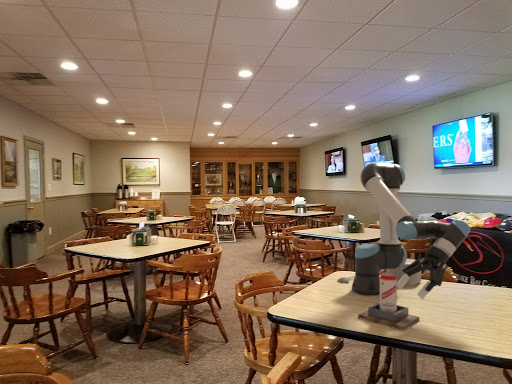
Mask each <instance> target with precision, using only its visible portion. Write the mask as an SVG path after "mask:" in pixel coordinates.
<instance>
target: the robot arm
mask: <svg viewBox="0 0 512 384" xmlns="http://www.w3.org/2000/svg"><path fill="white" fill-rule="evenodd" d="M405 181H406V173H405V171H404V169H403V168H402V167H401V165H399V164H396V163H376V162H374V163H373V162H372V163H369V164H367V165H365V166H364V168H363V169H362V170H361V172H360V182H361V184H362V186H363V187H364V189H365V190H366V192H370V193H371V195H372V196H373V197H374V198H375V200H376V201H377V202H378V204H379V238H380V239H379V240H377V242H376V243H363V244H358V245H357V246H356V247H355V252H354V269H355V270H354V271H355V274H354V276H355V277H353V282H352V283H351V284H352V285H351V291H352V292H353V293H355V294H357V295H361V296H380V276H381V273H380V271H381V270H386V269H395V268H399V267H402V266H403V265H404V264H405V262H406V259H408V257H407V256H408V254H407V250H406V248H405V247H404V246H402V242H401V241H400V239H401V240H408V241H409V240H419V239H420V240H421V239H422V240H423V239H424V240H425V239H436V240H435V242H434V243H433V244H432V246H431V247H430V248H429V249H428V250H427V252H426V257H422V256H421V255H420V256H419V257H418V258H416V259H415V260H416V261H414V262H413V263H411V264H410V265H408V266H407V267H405V268H404V269H403V270H402V271H403V272H404V274H403V276H402V277H401V278H400V280H399V281H398V282H397V289H399V290H400V291H401V290H402V289H403V288H404V287H405V286H406V285H405V284H406V282H407V281H408V280H409V279H410V276H412V275H414V274H416V273H418V272H420V271H421V272H422V271H423V272H424V271H429V279H428V280H427V281H426V282H425V283H424V285H423V286H422V287H421V289H420V290H419V291H418V292H417V293H416V294H417V296H419V298H420V299H422V300H424V299H425V298H426V296H427V295H428V294H429V293H430V292H431V291H432V289H433V288H434V287H436V286H438V287H441V286H442V284H443V280H444V276H445V272H446V269H448V265H447V264H446V263H447V262H448V260H450V258H451V256H453V254H454V252H456V251H457V249H458V248H459V247H460V246H461V244H462V243H463V242H464V241H465V240H466V238H468V235H469V234H470V233H471V226H470V225H469V224H468V223H467V222H465V221H464V220H462V219H459V218H456V219H452V221H451V222H450V223H448V222H444V221H439V220H435V219H430V218H424V219H423V220H416V219H415V218H414V217H413V216H412V215H411V213H410V212H409V211H408V210H407V209H406V207H405V206H404V205H403V204H402V203H401V202H400V200H399V199H398V192H399V191H400V190H401V186H403V184H404V182H405Z"/></svg>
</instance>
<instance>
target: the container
mask: <svg viewBox="0 0 512 384" xmlns="http://www.w3.org/2000/svg"><path fill="white" fill-rule="evenodd" d="M416 260H417V259H413V258H407V259H406V262H405V264H404V265H403V266H402V267H399V268H395V269H385V270H386V272H385V273H393V274H395V277H396V280H397V282H398V281H399V280H400V278H401V277H402V276H403V274H404V272H403V271H402V270H403V269H404V268H405V267H407V266H408V265H410V264H411V263H413V262H414V261H416ZM420 282H422V271H420V272H418V273H416V274H414V275H412V276H410V279H409V280H408V281H407V282H406V284H405V285H404V286H412V285H417V284H419V283H420Z"/></svg>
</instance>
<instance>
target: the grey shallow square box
mask: <svg viewBox="0 0 512 384" xmlns="http://www.w3.org/2000/svg"><path fill="white" fill-rule="evenodd" d="M367 310H368V316H372V317H376V318H380V319H383V320H387V321H391V322H395V323H397V322H398V321H400V320H402V319H403V318H405V317H407V316H408V314H409V307H407V306H403V305H398V304H397V312H396V313H391V312H387V311H383V310H380V302H378V303H375V304H373V305H371V306H369V307H367Z"/></svg>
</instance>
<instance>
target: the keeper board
mask: <svg viewBox="0 0 512 384" xmlns="http://www.w3.org/2000/svg"><path fill="white" fill-rule="evenodd" d="M357 318H358V319H360V318H361V320H363V319H365V320H364V321H367V320H368V322H371V321H372V322H371V323H374V322H375V323H374V324H378V323H379V324H378V325H381V324H383V325H382V326H385V325H387V326H386V327H389V326H390V327H389V328H392V327H394V329H396V328H397V330H399V329H401V330H400V331H403V330H404V331H406V330H407V329H409V328H410V327H412V326H414V325H415V324H417V323H418V322H419V321H420V316H417V315H414V314H413V315H412V314H409V313H408V316H407V317H405V318H403V319H402V320H400V321H398V322H397V323H395V322H391V321H387V320H383V319H380V318H376V317H372V316H368V309H366V310H364V311H362V312H360V313H358V314H357ZM413 324H414V325H413ZM408 327H409V328H408ZM405 329H406V330H405Z"/></svg>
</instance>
